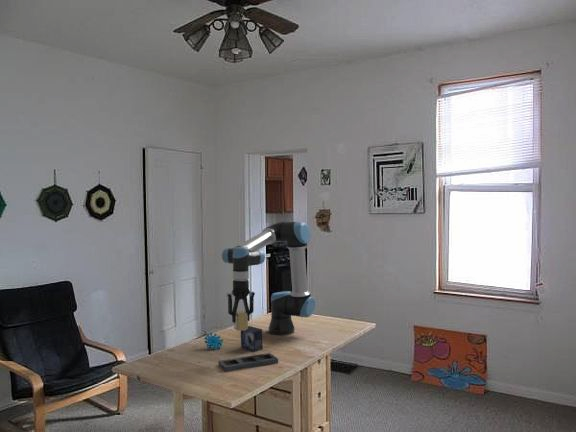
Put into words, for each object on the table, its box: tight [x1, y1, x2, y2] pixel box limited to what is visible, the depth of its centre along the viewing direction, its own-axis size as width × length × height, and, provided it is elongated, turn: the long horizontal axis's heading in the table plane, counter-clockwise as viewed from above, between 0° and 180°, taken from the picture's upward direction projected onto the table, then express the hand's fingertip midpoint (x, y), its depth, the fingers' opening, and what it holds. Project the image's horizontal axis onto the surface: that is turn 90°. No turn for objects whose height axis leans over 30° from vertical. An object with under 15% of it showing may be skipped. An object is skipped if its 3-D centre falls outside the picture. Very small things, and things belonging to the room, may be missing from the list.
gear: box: [204, 332, 225, 351], centre depth 256 cm, size 11×6×10 cm
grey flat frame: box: [218, 352, 279, 373], centre depth 230 cm, size 26×10×2 cm, turn 115°
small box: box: [240, 325, 264, 352], centre depth 254 cm, size 11×6×10 cm, turn 47°
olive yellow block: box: [236, 310, 247, 332], centre depth 233 cm, size 4×4×8 cm
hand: (240, 328), depth 233 cm, fingers closed on olive yellow block, 4 cm apart
